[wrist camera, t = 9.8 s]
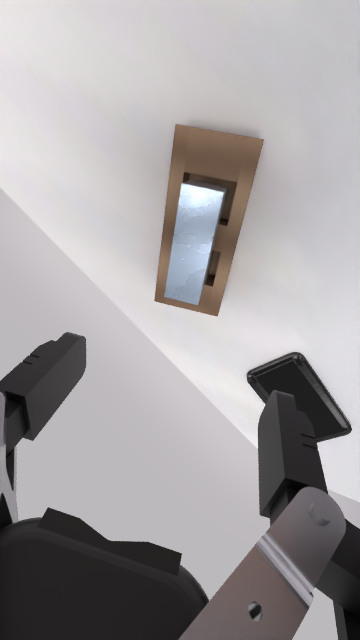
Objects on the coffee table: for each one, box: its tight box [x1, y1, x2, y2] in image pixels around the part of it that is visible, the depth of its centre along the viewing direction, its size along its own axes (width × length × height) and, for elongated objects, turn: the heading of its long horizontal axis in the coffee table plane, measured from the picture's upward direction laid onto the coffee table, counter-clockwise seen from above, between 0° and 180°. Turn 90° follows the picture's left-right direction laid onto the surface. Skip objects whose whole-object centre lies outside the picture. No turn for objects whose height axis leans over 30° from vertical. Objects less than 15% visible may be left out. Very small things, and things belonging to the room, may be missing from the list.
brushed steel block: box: [164, 180, 229, 305], centre depth 25 cm, size 9×3×8 cm, turn 171°
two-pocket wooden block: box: [154, 124, 264, 316], centre depth 28 cm, size 16×7×4 cm, turn 171°
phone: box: [247, 352, 352, 442], centre depth 38 cm, size 8×1×15 cm
